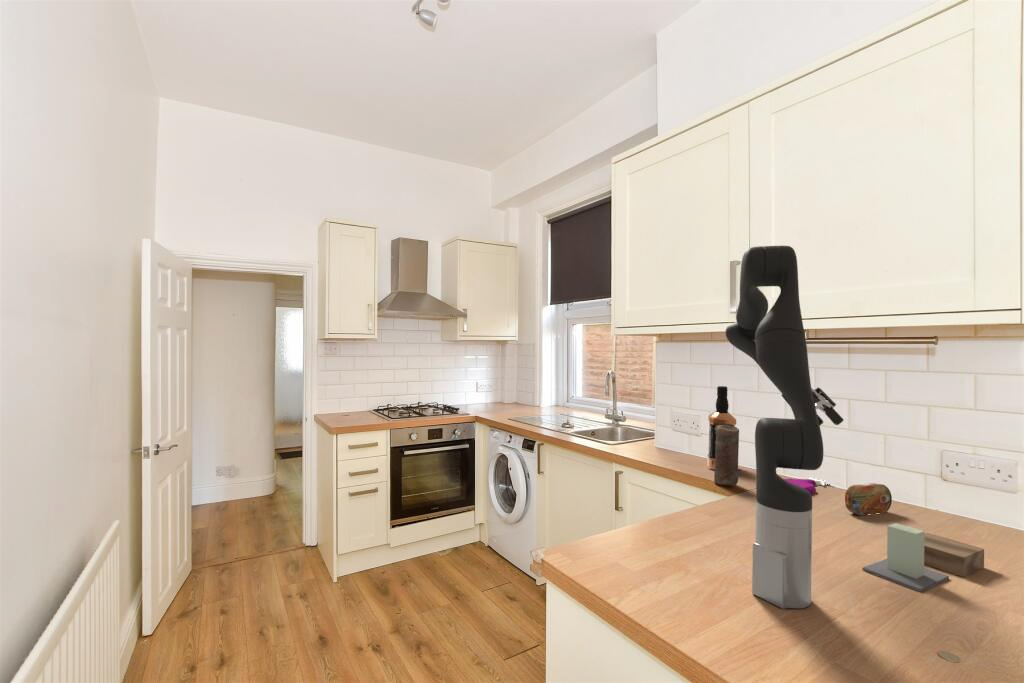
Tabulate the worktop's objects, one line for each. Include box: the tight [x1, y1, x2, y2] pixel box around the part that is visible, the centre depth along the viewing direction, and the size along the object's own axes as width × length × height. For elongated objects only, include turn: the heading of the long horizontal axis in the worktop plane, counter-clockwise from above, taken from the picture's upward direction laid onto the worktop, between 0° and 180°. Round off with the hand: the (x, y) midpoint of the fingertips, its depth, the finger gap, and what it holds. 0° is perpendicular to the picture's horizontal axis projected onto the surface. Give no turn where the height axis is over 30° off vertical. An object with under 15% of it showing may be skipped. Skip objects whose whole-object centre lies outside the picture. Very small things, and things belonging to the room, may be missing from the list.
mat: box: [862, 558, 950, 593], centre depth 100 cm, size 12×10×1 cm
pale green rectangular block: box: [886, 522, 925, 579], centre depth 100 cm, size 4×5×9 cm
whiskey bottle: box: [706, 385, 737, 471], centre depth 188 cm, size 10×10×32 cm
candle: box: [713, 425, 740, 487], centre depth 164 cm, size 8×7×20 cm
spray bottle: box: [783, 477, 827, 495], centre depth 162 cm, size 3×11×24 cm
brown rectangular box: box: [924, 532, 985, 578], centre depth 106 cm, size 10×10×4 cm
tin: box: [844, 482, 893, 517], centre depth 138 cm, size 15×3×8 cm, turn 105°
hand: (830, 423), depth 116 cm, fingers open, 8 cm apart
